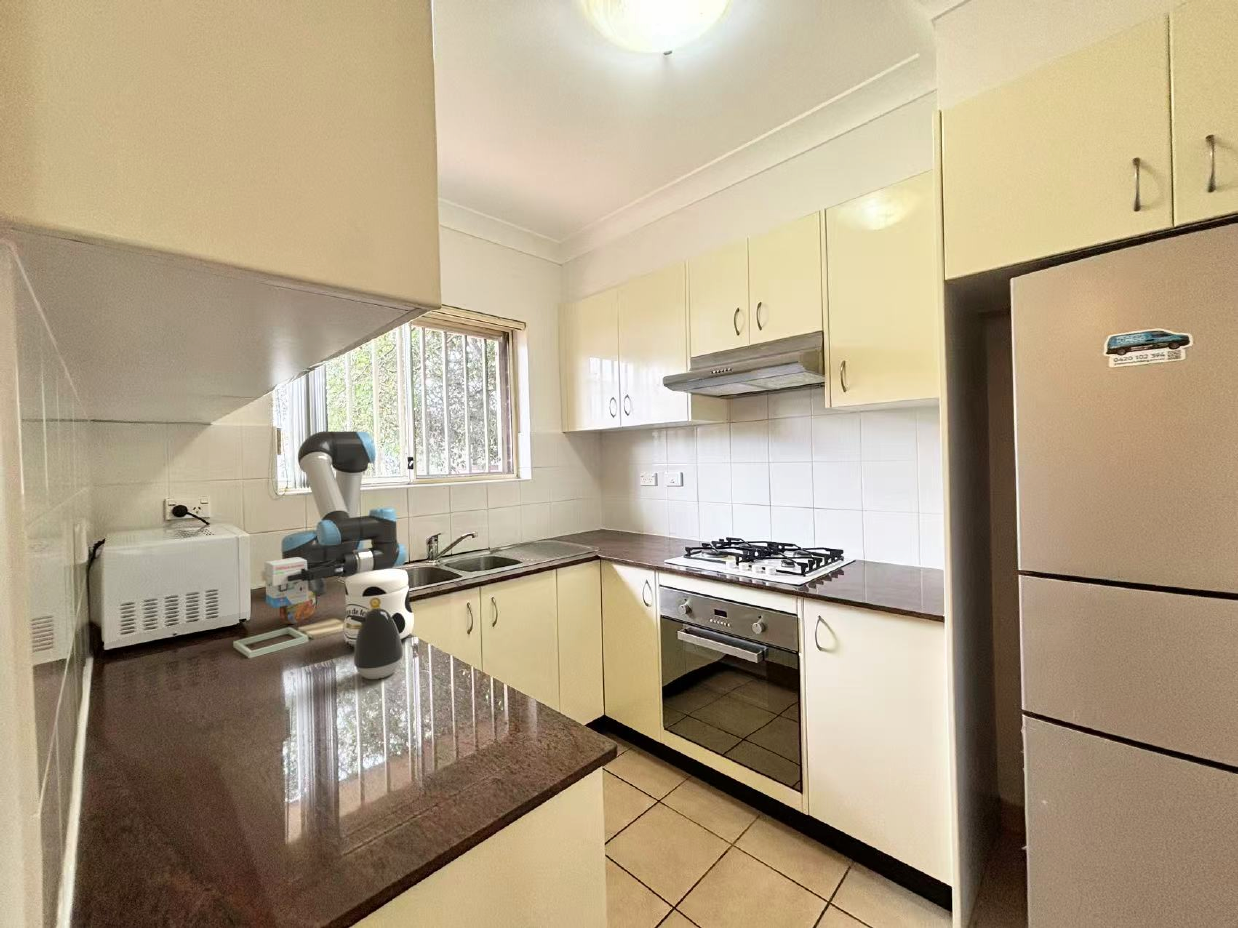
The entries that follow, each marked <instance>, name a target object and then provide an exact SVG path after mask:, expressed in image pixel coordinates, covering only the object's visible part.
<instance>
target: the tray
mask: <svg viewBox="0 0 1238 928" xmlns="http://www.w3.org/2000/svg"><path fill="white" fill-rule="evenodd" d="M284 635H291V636H292V637H294V638H293V639H289V640H287V641H283V642H280V643H279V642H278V643H275V644H272V645H268V646H264V647H260V648H258V649H253V650H252V649H250V648H249V647H247V646H246V645H250V644H253V643H257V642H260V641H264V640H269V639H273V638H276V637H281V636H284ZM305 643H309V636H307V635H305V634H303V633H301V632H299V631H298V629H295V628H293V627H291V626H288V627H285V628H284V627H283V628H280V629H276V630H272V631H268V632H264V633H261V634H258V635H257V634H256V635H254V636H249V637H246V638H242V639H238V640H233V648H234V649H236V650H237V651H238V652H240V653H241V654H243V655H244V656H246V657H247V658H248V659H252V658H256V657H258V656H262V655H266V654H270V653H274V652H277V651H280V650H284V649H286V648H291V647H295V646H298V645H302V644H305Z"/></svg>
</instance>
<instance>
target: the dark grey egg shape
mask: <svg viewBox="0 0 1238 928" xmlns="http://www.w3.org/2000/svg"><path fill="white" fill-rule="evenodd" d="M351 620H354V621H357V622H360V623H361V626H360V628H359V631H358V634H357V638H356V642H355V648H354V649H353V650H354V651H353V665H354V666H355V667H356V668H355V669H356V671H357V672H358V674H359V675H360V676H361V677H363V678H364V679H367V680H379V678H381V679H383V678H387V677H389V676H391V675H392V674H393V673H394V672H396V671H397V670H398V668H399V666H400V664H401V661H402V658H403V656H404V651H403V650H404V649H403V644H402V641H401V638H400V635H399V632H398V629H397V627H396V624H395V622H394V620H393V619H392V617H391V615H390V614H389V613H388V612H387V611H386V610H384V609H381V608H376V609H373V610H371V611H369V612H368V613H367V614H366V616H365V617H363V616H357V615H352V616H351Z"/></svg>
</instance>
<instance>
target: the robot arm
mask: <svg viewBox="0 0 1238 928" xmlns="http://www.w3.org/2000/svg"><path fill="white" fill-rule="evenodd" d="M376 453H377V452H376V447H375V443H374V440H373V438H372V436H371V434H370V433H368V432H367V431H357V430H355V431H354V430H353V431H349V430H348V431H328V430H327V431H326V430H324V431H318V432H315V433H313V434H312V435H310V436H308V437H307V438H306V439H305V440H304V441H303V443H302V444H301V445H300V447H299V450H298V453H297V462H298V465H299V469H300V470H301V471H302V472H303V473H305V475H306V476H305V477H307V481H308V484H309V487H310V491H311V493H312V497H313V499H314V502H315V505H316V509H317V511H318V514H319V517H320V521H318V522H317V524H316V529H310V530H303V531H297V532H295V533H291V534H288V535H285V536H284V537H283V538H282V540H281V549H280V551H281V559H287V558H294V557H301V558H302V559H305V560H307V570H305V569H301V573H300V571H295V572H289V573H284V574H278V575H272V586H276V585H281V584H287V583H292V582H297V581H301V579H302V581H305V580H307V581H308V590H313V591H314V592H315V594H316V596H317V597H318V596H321V595H323V594H325V593H327V585H326V583H325V581H324V578H327V577H331V576H335V575H339V577H341V578H348V577H350V576H353V575H355V574H359V573H364V572H369V571H376V570H386V569H393V568H397V567H400V566H402V565H404V564H405V563H406V561H407V554H408V553H407V551H406V547H405V545H404V544H403V543H402V542H398V535H397V531H398V530H397V516H396V515H397V514H396V510H395V509H394V508H393V507H378V508H372V509H370V510H369V512H368V513H369V514H368V515H363V516H358V512H359V503H360V495H361V487H362V481H363V480H362V478H363V473H364V472H366V471H367V470H368V468H369V464H373V463H374V462H376ZM332 468H333V469H332ZM333 470H335V472H336V473H335V474H334V471H333ZM365 541H371V542H370V544H371V547H366V548H365ZM260 572H261V573H260V574H261V575H260V576H261V582H265V570H261V571H260Z"/></svg>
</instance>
